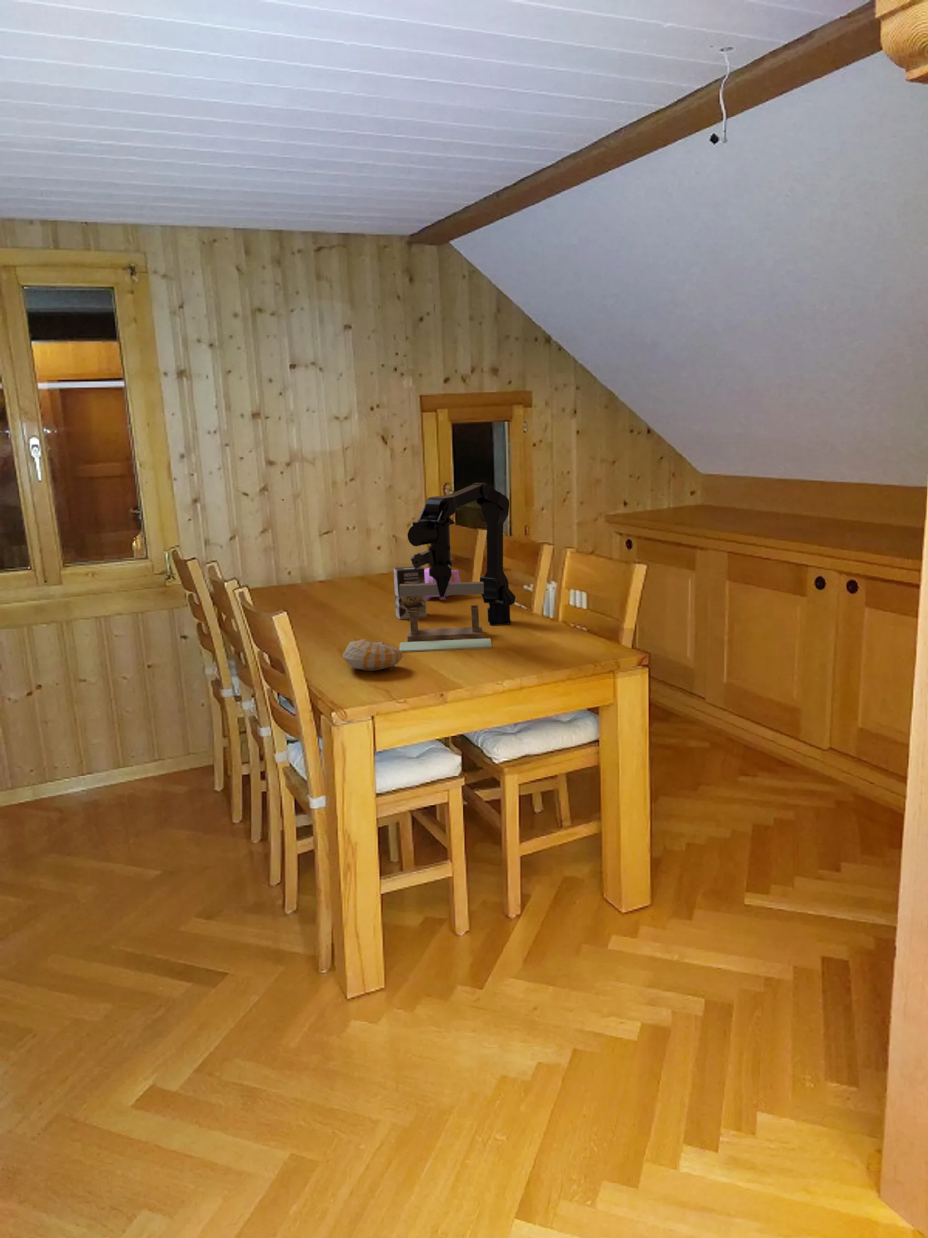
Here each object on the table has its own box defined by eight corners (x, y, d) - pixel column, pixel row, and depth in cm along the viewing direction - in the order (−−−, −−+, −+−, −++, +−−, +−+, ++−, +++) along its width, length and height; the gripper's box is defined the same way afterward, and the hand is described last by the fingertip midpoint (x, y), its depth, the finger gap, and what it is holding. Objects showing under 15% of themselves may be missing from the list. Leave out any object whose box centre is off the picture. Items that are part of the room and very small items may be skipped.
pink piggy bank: (456, 603, 321) (455, 569, 318) (407, 603, 324) (405, 570, 321) (464, 592, 338) (463, 560, 335) (417, 592, 341) (415, 560, 338)
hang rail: (483, 591, 269) (483, 581, 269) (483, 593, 266) (483, 583, 266) (400, 594, 270) (399, 584, 269) (399, 596, 267) (399, 586, 266)
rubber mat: (490, 640, 270) (490, 638, 270) (491, 648, 262) (491, 646, 261) (400, 644, 270) (400, 642, 270) (398, 652, 261) (398, 650, 261)
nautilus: (334, 662, 256) (388, 658, 261) (350, 678, 236) (407, 673, 241) (333, 633, 255) (387, 630, 259) (349, 647, 235) (407, 643, 239)
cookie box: (399, 620, 299) (396, 570, 296) (395, 615, 305) (392, 567, 302) (427, 617, 302) (424, 568, 298) (422, 613, 308) (420, 564, 304)
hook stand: (481, 631, 280) (480, 603, 278) (483, 638, 273) (481, 609, 271) (408, 634, 280) (407, 607, 278) (407, 641, 272) (406, 613, 270)
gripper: (413, 538, 274) (415, 590, 277) (409, 547, 256) (412, 603, 259) (451, 536, 274) (453, 589, 277) (450, 546, 256) (452, 602, 259)
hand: (442, 595), depth 268 cm, fingers closed on hang rail, 3 cm apart
